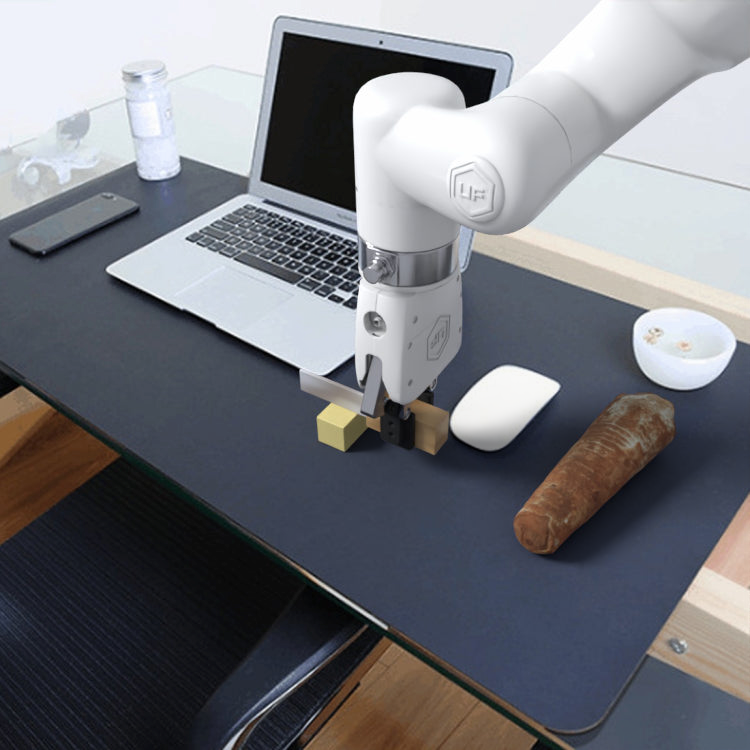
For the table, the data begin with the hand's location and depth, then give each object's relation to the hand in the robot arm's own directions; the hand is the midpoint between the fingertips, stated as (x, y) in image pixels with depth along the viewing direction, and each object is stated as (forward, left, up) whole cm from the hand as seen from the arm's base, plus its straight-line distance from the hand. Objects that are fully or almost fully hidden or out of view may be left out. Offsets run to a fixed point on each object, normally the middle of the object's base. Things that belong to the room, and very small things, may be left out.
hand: (406, 431), depth 71 cm
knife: (+4, -1, 0) cm, 4 cm away
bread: (-17, 0, -3) cm, 17 cm away
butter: (+6, -1, -3) cm, 7 cm away
